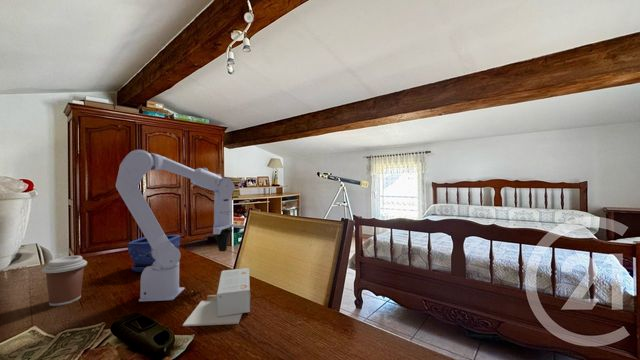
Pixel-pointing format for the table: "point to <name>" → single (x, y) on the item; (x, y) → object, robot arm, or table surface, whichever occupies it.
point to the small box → (233, 292)
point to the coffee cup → (64, 279)
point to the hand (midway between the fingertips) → (222, 250)
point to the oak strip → (211, 297)
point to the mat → (210, 315)
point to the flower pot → (146, 252)
